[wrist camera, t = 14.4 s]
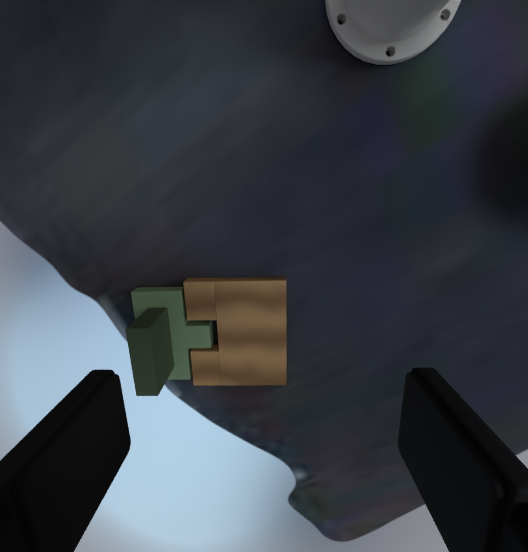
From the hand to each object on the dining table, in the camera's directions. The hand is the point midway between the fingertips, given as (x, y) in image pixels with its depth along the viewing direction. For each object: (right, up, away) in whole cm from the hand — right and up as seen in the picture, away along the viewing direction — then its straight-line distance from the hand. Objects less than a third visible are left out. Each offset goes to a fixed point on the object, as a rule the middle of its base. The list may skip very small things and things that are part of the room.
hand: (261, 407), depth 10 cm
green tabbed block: (-11, -3, +28) cm, 31 cm away
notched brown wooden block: (-3, -3, +28) cm, 28 cm away
